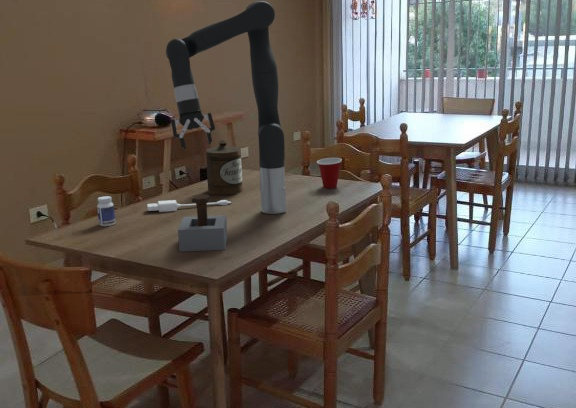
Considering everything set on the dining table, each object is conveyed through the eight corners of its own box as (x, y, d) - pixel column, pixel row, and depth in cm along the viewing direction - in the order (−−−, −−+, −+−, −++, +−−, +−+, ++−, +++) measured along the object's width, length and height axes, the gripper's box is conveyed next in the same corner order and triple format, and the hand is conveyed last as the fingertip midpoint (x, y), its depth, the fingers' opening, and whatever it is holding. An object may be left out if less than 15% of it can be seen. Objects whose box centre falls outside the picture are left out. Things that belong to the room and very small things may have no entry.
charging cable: (232, 208, 237) (232, 199, 236) (148, 213, 228) (147, 204, 227) (229, 204, 241) (229, 196, 241) (147, 209, 233) (146, 201, 232)
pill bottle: (118, 222, 218) (116, 196, 215) (109, 227, 213) (106, 200, 210) (105, 221, 220) (102, 195, 217) (95, 226, 215) (92, 199, 212)
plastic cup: (313, 185, 264) (313, 158, 261) (336, 183, 267) (336, 156, 264) (322, 191, 254) (321, 163, 251) (345, 188, 257) (345, 161, 254)
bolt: (208, 244, 190) (205, 199, 186) (193, 244, 191) (190, 198, 187) (214, 238, 196) (211, 194, 192) (199, 238, 197) (196, 193, 193)
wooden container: (229, 196, 249) (226, 144, 243) (201, 193, 256) (197, 142, 251) (249, 188, 262) (247, 138, 256) (221, 185, 269) (218, 136, 263)
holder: (227, 235, 200) (226, 215, 199) (224, 249, 187) (223, 228, 185) (185, 236, 200) (183, 216, 198) (179, 251, 186) (177, 230, 185)
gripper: (166, 102, 199) (176, 150, 201) (208, 94, 201) (218, 142, 203) (166, 104, 206) (176, 150, 208) (207, 96, 209) (217, 142, 211)
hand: (197, 146), depth 206 cm, fingers open, 8 cm apart
